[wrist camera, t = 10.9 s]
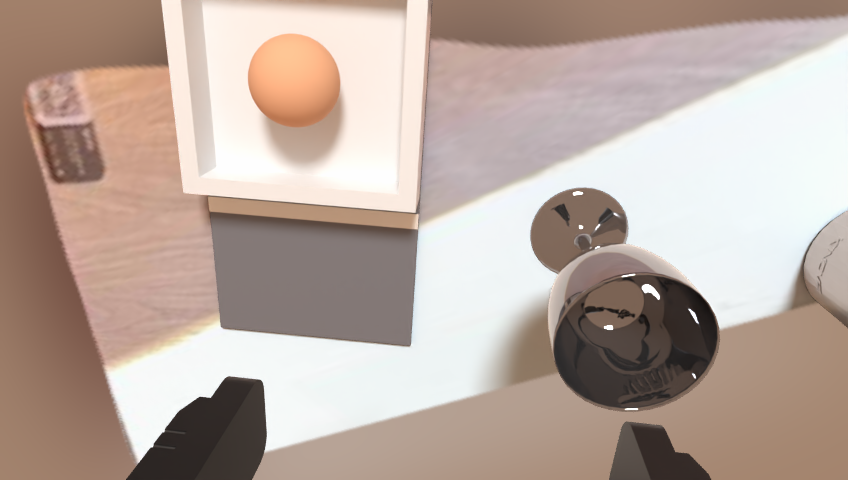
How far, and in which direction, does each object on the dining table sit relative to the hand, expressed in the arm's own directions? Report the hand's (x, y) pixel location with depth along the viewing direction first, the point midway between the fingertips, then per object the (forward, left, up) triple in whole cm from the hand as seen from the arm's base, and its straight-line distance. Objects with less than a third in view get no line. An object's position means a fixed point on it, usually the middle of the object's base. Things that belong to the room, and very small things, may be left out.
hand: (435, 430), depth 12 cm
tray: (+10, -4, -29) cm, 31 cm away
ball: (+10, -4, -25) cm, 27 cm away
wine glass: (-9, +6, -29) cm, 31 cm away
